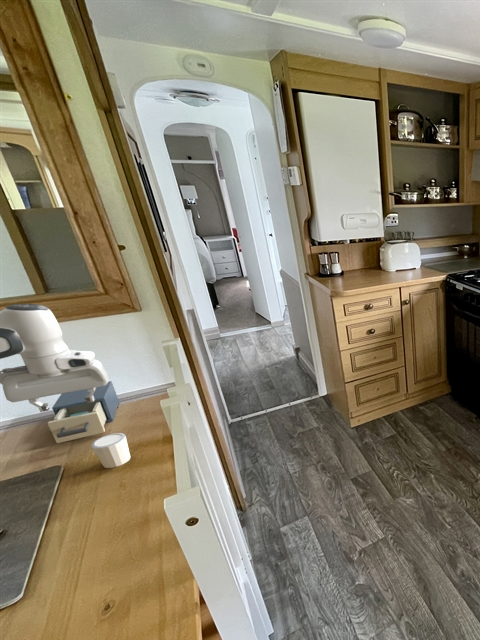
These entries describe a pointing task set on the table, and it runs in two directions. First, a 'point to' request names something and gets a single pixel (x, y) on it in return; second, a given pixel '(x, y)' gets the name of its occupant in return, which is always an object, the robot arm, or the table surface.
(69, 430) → the drawer
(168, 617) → the table surface
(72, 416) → the teal cube
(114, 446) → the white faceted cup
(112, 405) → the blue drawer cabinet
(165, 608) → the table surface
